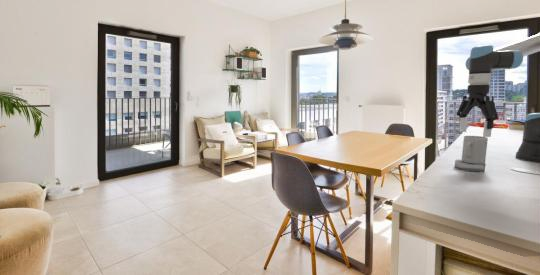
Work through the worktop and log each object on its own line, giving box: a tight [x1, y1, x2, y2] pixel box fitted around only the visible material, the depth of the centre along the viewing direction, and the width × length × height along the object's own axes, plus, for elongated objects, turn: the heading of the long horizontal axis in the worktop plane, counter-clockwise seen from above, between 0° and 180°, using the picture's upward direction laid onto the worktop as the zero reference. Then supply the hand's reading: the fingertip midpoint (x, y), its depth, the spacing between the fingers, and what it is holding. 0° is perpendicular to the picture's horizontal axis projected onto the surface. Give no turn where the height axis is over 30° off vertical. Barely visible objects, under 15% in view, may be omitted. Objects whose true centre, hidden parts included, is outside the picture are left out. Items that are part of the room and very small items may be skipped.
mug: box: [461, 135, 489, 164], centre depth 123 cm, size 12×8×11 cm
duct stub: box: [454, 158, 487, 173], centre depth 125 cm, size 11×11×3 cm
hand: (474, 134), depth 122 cm, fingers open, 13 cm apart
